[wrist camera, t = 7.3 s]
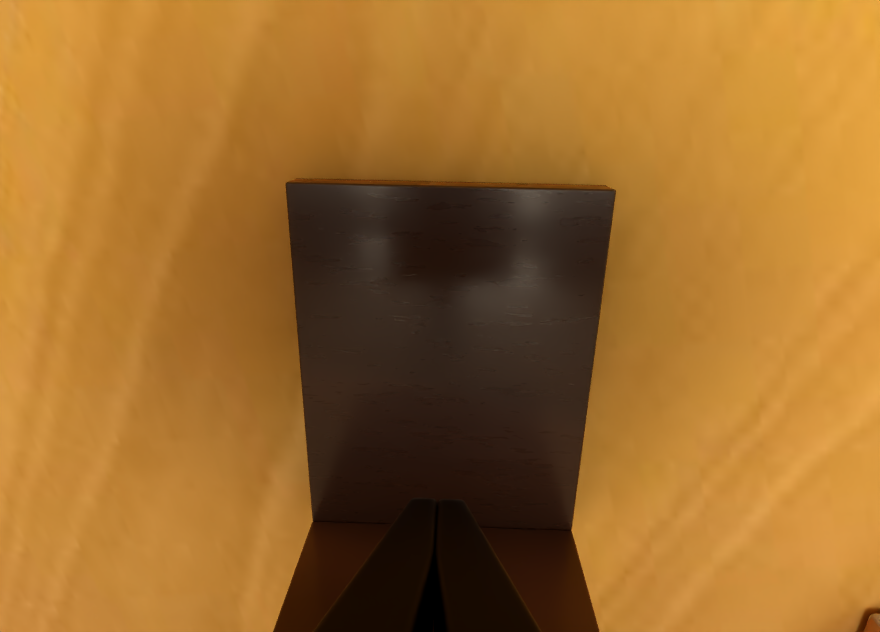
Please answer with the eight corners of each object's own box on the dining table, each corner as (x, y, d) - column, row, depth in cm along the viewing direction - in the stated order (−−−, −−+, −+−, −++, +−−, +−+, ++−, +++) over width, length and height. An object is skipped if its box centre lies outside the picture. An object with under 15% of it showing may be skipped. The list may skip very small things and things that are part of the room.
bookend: (319, 512, 20) (294, 178, 16) (564, 521, 20) (607, 185, 15) (169, 945, 9) (-26, 300, 5) (686, 973, 9) (915, 325, 5)
